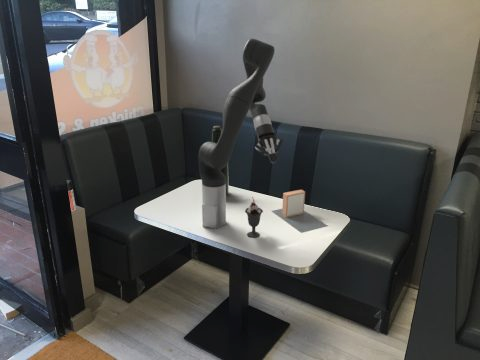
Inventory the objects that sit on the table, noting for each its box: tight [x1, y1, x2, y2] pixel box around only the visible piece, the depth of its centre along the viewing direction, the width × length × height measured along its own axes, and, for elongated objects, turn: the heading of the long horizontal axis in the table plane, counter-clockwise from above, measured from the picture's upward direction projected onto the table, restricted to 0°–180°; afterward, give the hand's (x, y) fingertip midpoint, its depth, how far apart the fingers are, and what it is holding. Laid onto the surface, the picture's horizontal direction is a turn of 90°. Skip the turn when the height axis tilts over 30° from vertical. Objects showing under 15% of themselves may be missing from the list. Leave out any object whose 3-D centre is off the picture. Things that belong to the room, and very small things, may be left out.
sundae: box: [244, 196, 264, 239], centre depth 149 cm, size 7×7×15 cm
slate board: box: [271, 208, 329, 234], centre depth 164 cm, size 22×13×1 cm, turn 27°
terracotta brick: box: [281, 189, 306, 218], centre depth 165 cm, size 3×9×10 cm, turn 117°
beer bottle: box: [211, 125, 230, 197], centre depth 183 cm, size 10×10×33 cm
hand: (274, 162), depth 171 cm, fingers closed
